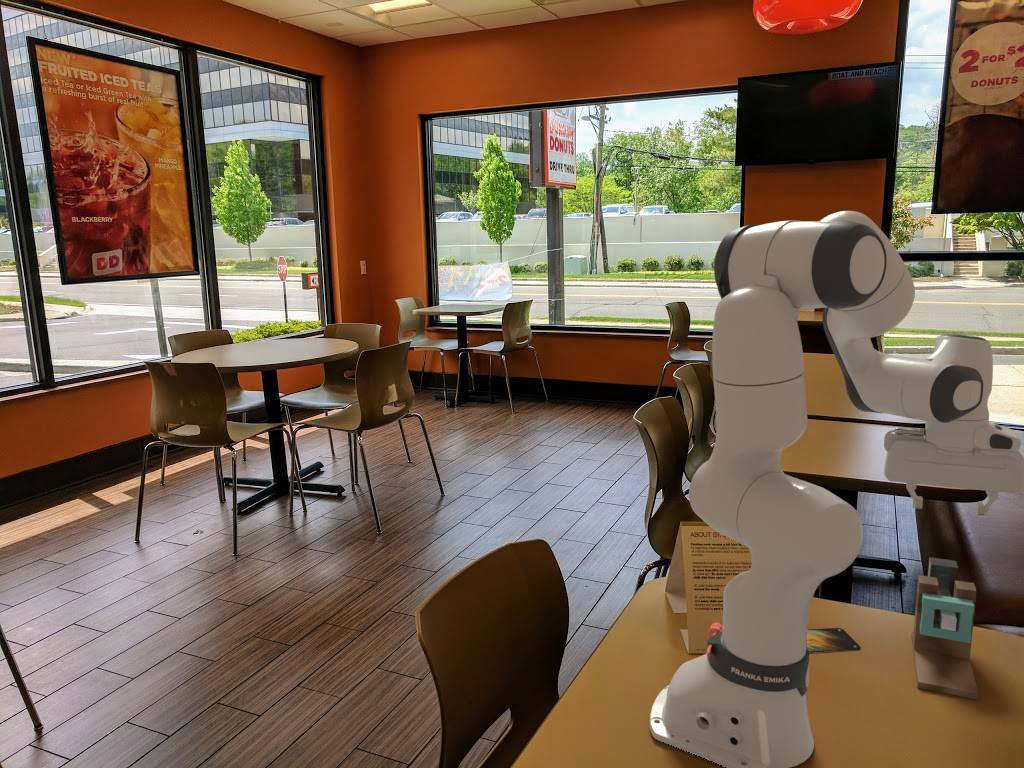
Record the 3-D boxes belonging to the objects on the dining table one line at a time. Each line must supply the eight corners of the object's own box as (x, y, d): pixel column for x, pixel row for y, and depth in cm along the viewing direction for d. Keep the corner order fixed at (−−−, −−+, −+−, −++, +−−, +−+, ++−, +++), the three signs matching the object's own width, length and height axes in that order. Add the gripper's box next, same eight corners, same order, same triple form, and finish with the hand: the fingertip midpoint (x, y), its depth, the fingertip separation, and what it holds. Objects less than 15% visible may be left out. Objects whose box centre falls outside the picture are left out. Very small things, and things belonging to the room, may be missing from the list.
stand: (917, 687, 114) (924, 610, 112) (911, 637, 128) (917, 567, 126) (977, 699, 111) (985, 620, 108) (964, 646, 125) (971, 575, 123)
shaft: (933, 633, 116) (936, 592, 115) (926, 594, 129) (929, 557, 127) (962, 638, 115) (966, 597, 113) (952, 598, 127) (956, 560, 126)
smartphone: (862, 648, 125) (776, 653, 124) (862, 652, 125) (776, 657, 124) (841, 627, 132) (760, 631, 131) (841, 630, 132) (760, 634, 131)
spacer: (920, 634, 120) (923, 598, 118) (919, 628, 121) (922, 592, 120) (970, 643, 117) (974, 606, 116) (968, 636, 119) (972, 600, 117)
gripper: (885, 431, 122) (880, 509, 125) (1033, 441, 114) (1024, 525, 116) (884, 422, 128) (879, 497, 131) (1025, 431, 119) (1016, 512, 122)
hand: (948, 511), depth 123 cm, fingers open, 8 cm apart
